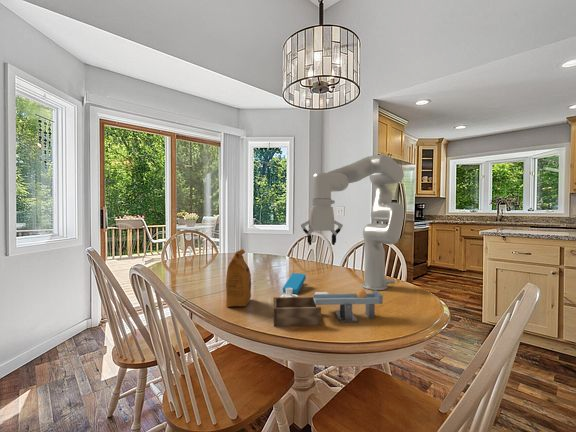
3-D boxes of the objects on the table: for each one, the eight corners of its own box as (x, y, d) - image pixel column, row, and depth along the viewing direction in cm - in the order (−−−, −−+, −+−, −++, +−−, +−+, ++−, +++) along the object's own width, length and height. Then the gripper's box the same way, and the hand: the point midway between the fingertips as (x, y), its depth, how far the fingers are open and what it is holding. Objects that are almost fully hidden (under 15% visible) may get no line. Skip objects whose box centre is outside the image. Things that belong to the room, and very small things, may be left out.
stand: (368, 311, 111) (368, 296, 111) (377, 321, 101) (377, 305, 101) (334, 311, 110) (334, 296, 110) (340, 322, 100) (340, 305, 100)
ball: (365, 297, 107) (364, 287, 107) (368, 300, 104) (367, 290, 104) (355, 298, 107) (355, 288, 107) (358, 301, 104) (357, 291, 103)
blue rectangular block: (297, 302, 133) (308, 282, 149) (296, 289, 131) (307, 270, 147) (284, 301, 136) (295, 281, 152) (282, 288, 134) (294, 269, 150)
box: (315, 312, 110) (315, 296, 110) (320, 325, 98) (320, 307, 98) (273, 313, 109) (273, 297, 109) (273, 326, 97) (273, 308, 97)
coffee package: (254, 298, 125) (254, 248, 125) (246, 309, 113) (246, 253, 112) (232, 298, 127) (232, 248, 126) (222, 308, 114) (222, 252, 114)
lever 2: (370, 293, 115) (370, 285, 115) (382, 303, 103) (382, 295, 103) (311, 294, 114) (311, 286, 114) (315, 305, 101) (315, 296, 101)
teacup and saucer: (291, 302, 122) (291, 292, 122) (275, 299, 126) (275, 290, 126) (301, 296, 130) (301, 287, 129) (286, 293, 134) (286, 285, 134)
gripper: (340, 203, 123) (340, 243, 123) (300, 203, 122) (300, 243, 123) (344, 203, 115) (344, 245, 116) (301, 203, 115) (301, 246, 115)
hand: (321, 244), depth 119 cm, fingers open, 9 cm apart
